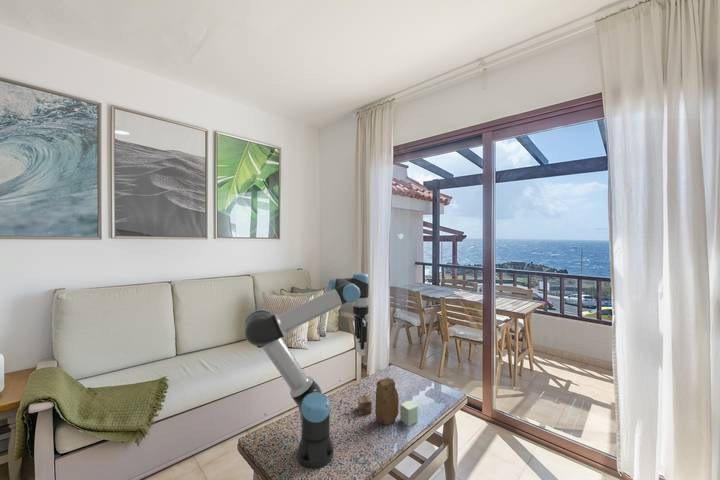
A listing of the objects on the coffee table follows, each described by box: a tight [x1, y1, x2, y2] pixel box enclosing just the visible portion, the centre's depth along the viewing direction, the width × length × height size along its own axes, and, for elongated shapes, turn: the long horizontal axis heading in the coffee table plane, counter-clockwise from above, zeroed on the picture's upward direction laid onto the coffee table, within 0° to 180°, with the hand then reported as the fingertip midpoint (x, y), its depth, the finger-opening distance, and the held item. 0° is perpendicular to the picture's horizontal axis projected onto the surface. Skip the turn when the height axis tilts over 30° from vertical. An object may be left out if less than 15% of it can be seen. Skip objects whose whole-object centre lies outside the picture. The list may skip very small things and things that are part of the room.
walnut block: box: [357, 395, 373, 415], centre depth 159 cm, size 6×6×6 cm
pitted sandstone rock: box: [374, 377, 400, 425], centre depth 151 cm, size 11×8×20 cm
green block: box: [399, 400, 419, 427], centre depth 150 cm, size 6×6×8 cm
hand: (360, 353), depth 147 cm, fingers open, 4 cm apart
